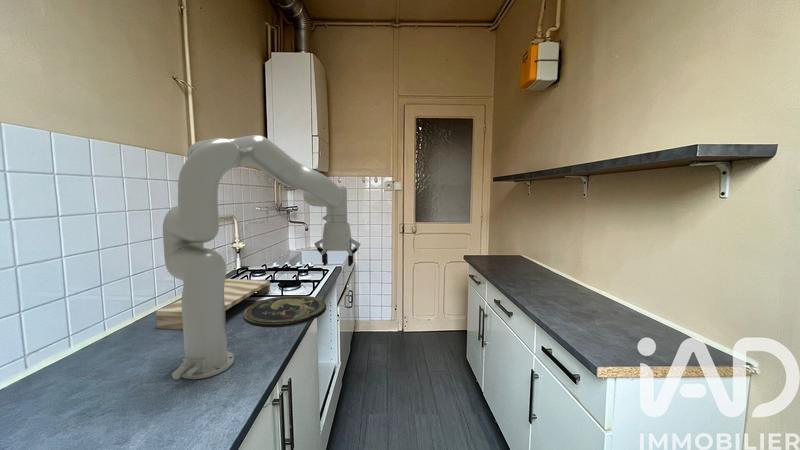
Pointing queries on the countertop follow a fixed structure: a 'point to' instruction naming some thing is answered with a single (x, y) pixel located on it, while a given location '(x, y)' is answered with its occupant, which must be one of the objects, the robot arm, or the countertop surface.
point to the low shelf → (232, 295)
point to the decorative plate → (284, 311)
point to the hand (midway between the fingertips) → (337, 265)
